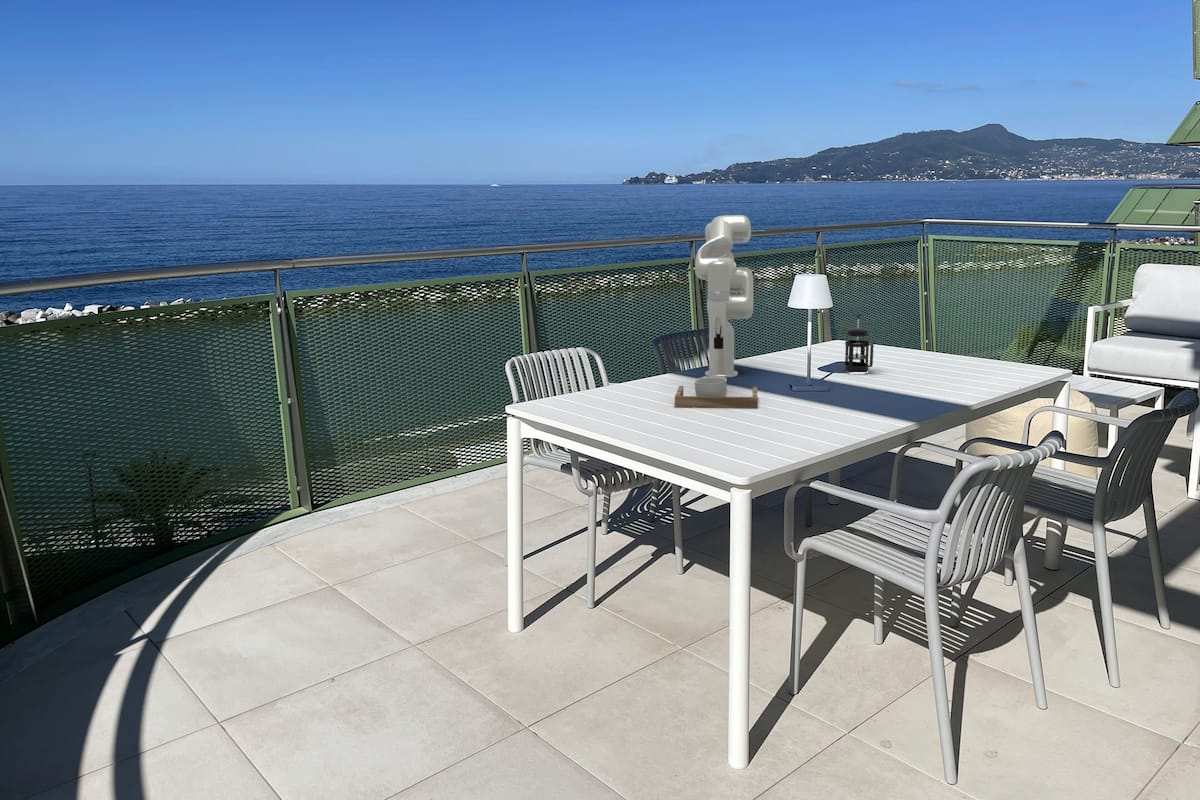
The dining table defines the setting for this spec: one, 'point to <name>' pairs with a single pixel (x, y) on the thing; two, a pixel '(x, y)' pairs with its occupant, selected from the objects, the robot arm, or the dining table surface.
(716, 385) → the teacup
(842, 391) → the dining table surface
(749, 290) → the robot arm
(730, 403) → the walnut bay
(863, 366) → the french press
